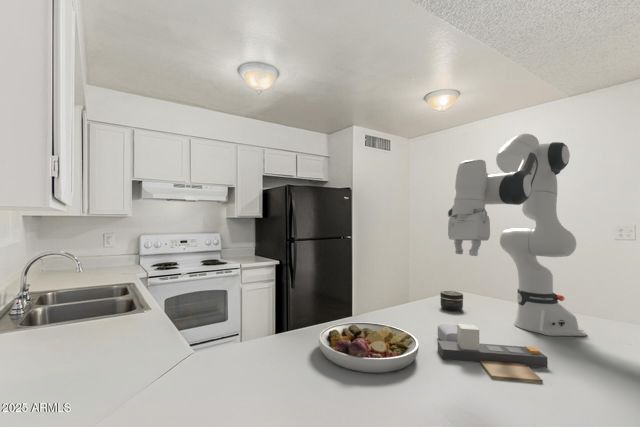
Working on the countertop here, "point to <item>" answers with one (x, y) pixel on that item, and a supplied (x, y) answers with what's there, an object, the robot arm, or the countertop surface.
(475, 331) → the charger
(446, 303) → the jar
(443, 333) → the charger
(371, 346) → the bowl
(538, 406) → the countertop surface
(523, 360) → the power strip
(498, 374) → the cork mat
